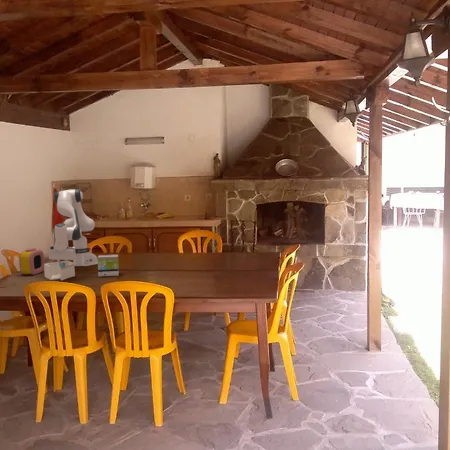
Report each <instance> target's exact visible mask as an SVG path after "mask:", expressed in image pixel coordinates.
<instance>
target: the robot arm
mask: <svg viewBox="0 0 450 450" xmlns="http://www.w3.org/2000/svg"><path fill="white" fill-rule="evenodd" d="M83 199H84V194H83V192H82V190H81V189H80V188H79V189H78V188H76V189H67V190H65V189H64V190H59V191H56V192H54V194H53V201H54V204H56V210H57V212H58V213H59V215H61V216H64V217H68V218H66V219H65V220H64V222H63V223H62V222H61V223H58V224H57V223H56V224H55V225H54V231H53V238H54V239H55V241H54V244H53V245H50V246H48V249H49V250H48V259H49V260H56V262H58V263H59V266H60V263H61V262H62V261H66V262H65V263H64V266H67V262H68V261H73V263H74V267H89V266H94V265H98V256H97V255H96V254H94V252H93V253H92V247H89V246H88V239H87V236H84V235H82V232H91V231H93V230H94V229H95V226H96V224H95V221H94V219H93V218H90V217H89V216H87V215H86V213H85V212H84V210H83V207H82V204H81V202H82V201H83ZM69 241H72V245H73V246H69Z"/></svg>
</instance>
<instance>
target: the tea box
mask: <svg viewBox="0 0 450 450" xmlns="http://www.w3.org/2000/svg"><path fill="white" fill-rule="evenodd" d="M97 260H98V264H97V276H98V277H113V276H114V277H116V276H117V277H118V276H119V273H120V272H119V271H120V269H119V268H120V267H119V263H120V261H119V254H102V255H101V254H99V255H98V256H97Z"/></svg>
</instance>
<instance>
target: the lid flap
mask: <svg viewBox="0 0 450 450" xmlns="http://www.w3.org/2000/svg"><path fill="white" fill-rule="evenodd" d="M61 262H62V261H61ZM64 263H65V262H62V263H60V279H59V280H60V281H64V280H66V279H70V278H72V276H74V277H75V276H76V270H74V268H75V266H74V263H73V264H70V265H67V266H64Z"/></svg>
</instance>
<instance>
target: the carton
mask: <svg viewBox="0 0 450 450" xmlns="http://www.w3.org/2000/svg"><path fill="white" fill-rule="evenodd" d="M60 262H61V263H62V262H66V261H65V260H61V261H60ZM70 264H73V262H72V261H71V260H68V262H67V265H70ZM75 269H76V268H75V267H74V270H75ZM43 271H44V278H45V279H47V280H50V281H55V280H61V279H60V266H59V263H58V262H57V261H55V262H47V263H44V270H43ZM75 271H76V270H75ZM72 277H75V276H72ZM72 277H71V278H72Z"/></svg>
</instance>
